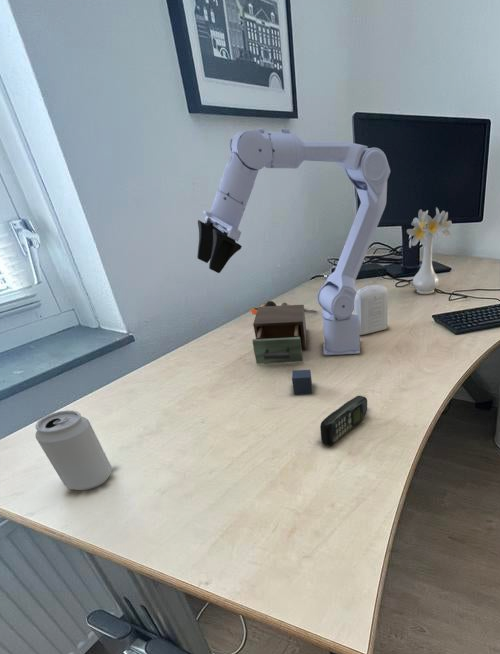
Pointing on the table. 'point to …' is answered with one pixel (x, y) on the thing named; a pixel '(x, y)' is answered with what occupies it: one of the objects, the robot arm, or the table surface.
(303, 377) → the block
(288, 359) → the drawer
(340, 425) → the mobile phone
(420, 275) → the flower vase
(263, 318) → the cabinet
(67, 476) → the can
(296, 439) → the table surface
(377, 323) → the white rounded slab
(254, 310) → the headphones
